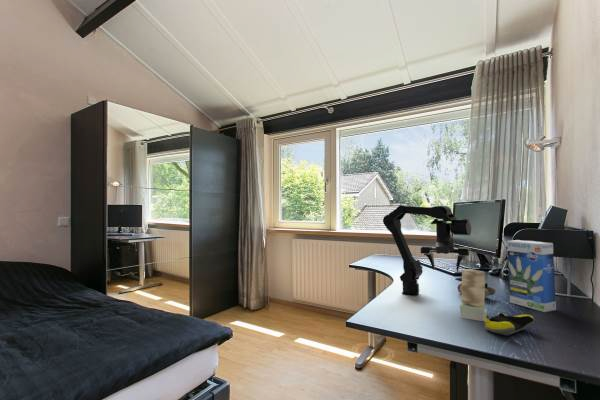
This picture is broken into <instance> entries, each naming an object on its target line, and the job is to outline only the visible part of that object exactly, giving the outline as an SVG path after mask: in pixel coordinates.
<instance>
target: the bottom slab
mask: <svg viewBox="0 0 600 400" xmlns="http://www.w3.org/2000/svg"><path fill="white" fill-rule="evenodd" d="M459 312H460V311H459ZM459 314H460V318H461V319H465V320H466V319H467V320H473V321H479V322H480V321H481V322H485V321H484V319H483V318H488V317H487V316H488V315H487V308H485V312H484V314H483V316H480V315H474V314H468V313H462V312H460V313H459Z"/></svg>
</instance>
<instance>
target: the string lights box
mask: <svg viewBox="0 0 600 400" xmlns="http://www.w3.org/2000/svg"><path fill="white" fill-rule="evenodd" d="M506 242H507V244H506V246H507V262H508V263H507V266H508V288H509V289H508V290H509V292H508V293H509V303H511V304H513V305H514V304H515V305H517V306H521V307H525V308H529V309H532V310H536V311H539V312H543V313H548V312H552V311H556V310H557V305H556V304H557V302H556V286H555V284H556V283H555V282H556V279H555V261H554V259H555V258H554V257H555V256H554V243H553V242H544V241H535V240H520V239H515V240H514V239H512V240H507V241H506Z"/></svg>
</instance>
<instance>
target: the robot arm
mask: <svg viewBox="0 0 600 400" xmlns="http://www.w3.org/2000/svg"><path fill="white" fill-rule="evenodd" d="M406 214H407V215H410V214H411V215H421V216H428V217H431V218H433V219H434V220H432V221H431V222H430V224H431V225H435V228H436V229H435V233H436V242H435V247H433V246H432V245H423V246H421V247H420V254H423V255H424V256H426V257H427V259H428V261H429V262H430V264H431V267H432V270H433V271H434V270H435V269H436V268H435V266H436V265H435V259H434V253H436V254H445V255H448V254H457V256H456V272H459V269H460V266H461V262H462V261H463V259H464V258H466V257H467V256H470V248H469V247H467V246H466V247H462V246H459V247H458V248H455V244H454V241H452V234H453V235H454V236H471V233H472V226H471V222H470V220H469V219H468V218H463V219H459V218H458V219H457V217H456V216H455V215H454V213H452V208H450V207H449V206H448V205H437V206H418V205H416V206H414V205H406V204H400V205H399V206H397V207H396V208H395V209H394V210H392V211H391V212H389V213H388V214H386V215H385V216H383V219H382V223H383V224H384V226H385V228H386V229H387V231H389V232H390V233H391V236H392V237H393V240H394V242H395V245H396V247H397V250H398V252H399V254H400V257H401V259H402V261H403V262H402V264H403V266H402V268H403V273H402V274H401V275H400V276H399V280H400V282H402V292H401V295H406V296H407V295H409V296H417V295H418V294H419V293H420V284H419V282H418V280H420V277H421V276H422V275H423V272H424V271H423V268H424V266H422V265H421V261H420V260H419V259H418V260H416V259H415V258H414V257H413V254H412V251H411V250H410V247H409V244H408V243H407V240H406V238H405V236H404V233H403V232H402V223H401V220H402V219H404V217H405V216H406Z"/></svg>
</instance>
